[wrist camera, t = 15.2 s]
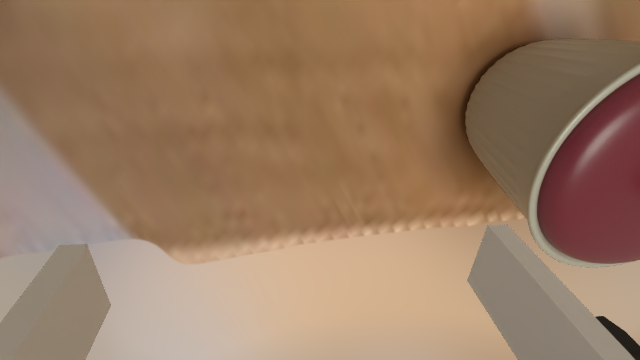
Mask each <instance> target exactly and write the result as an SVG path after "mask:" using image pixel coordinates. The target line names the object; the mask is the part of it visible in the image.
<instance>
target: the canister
mask: <svg viewBox="0 0 640 360" xmlns="http://www.w3.org/2000/svg"><path fill="white" fill-rule="evenodd" d="M465 115H466V120H465V125H466V134H467V136H468V140H469V143H470V145H471V146H472V148H473V150H474V152H475V154H476V155H477V157H478V158H479V159H480V161H481V162H482V163H483V165H484V166H485V167H486V169H487V170H488V171H489V173H490V174H491V175H492V177H493V178H494V179H495V180H496V182H497V183H498V184H499V185H500V187H501V188H502V189H503V190H504V192H505V193H506V194H507V195H508V196H509V198H510V199H511V200H512V202H513V203H514V204H515V205H516V207H517V208H518V209H519V210H520V212H521V213H522V214H523V215H524V216H525V218H526V219H527V220H528V225H529V228H530V231H531V234H532V236H533V238H534V240H535V242H536V243H537V244H538V246H539V247H540V248H541V249H542V250H543V251H544V252H545V253H546V254H547V255H549V256H550V257H552V258H553V259H555V260H557V261H559V262H562V263H565V264H568V265H572V266H578V267H588V268H598V267H609V266H615V265H621V264H625V263H629V262H632V261H636V260H640V41H623V40H597V39H558V40H543V41H539V42H533V43H529V44H527V45H526V46H522V47H519V48H517V49H515V50H514V51H513V52H510V53H507V54H506V55H505V56H504V57H503V58H501V59H499V60H497V61H496V63H495V64H494V65H493V66H491V67H490V68H488V70H487V72H486V73H485V74H484V75H483V76H481V79H480V81H479V82H478V83H477V84H476V85H475V89H474V91H473V92H472V93H471V95H470V100H469V102H468V103H467V111H466V113H465Z"/></svg>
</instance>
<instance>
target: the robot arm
mask: <svg viewBox="0 0 640 360" xmlns="http://www.w3.org/2000/svg"><path fill="white" fill-rule="evenodd" d="M468 282H469V284H470V286H471V287H472V289H473V290H474V292H475V293H476V295H477V297H478V298H479V300H480V301H481V303H482V304H483V306H484V308H485V309H486V310H487V312H488V314H489V315H490V317H491V318H492V320H493V321H494V323H495V325H496V326H497V328H498V329H499V331H500V332H501V334H502V336H503V337H504V339H505V340H506V342H507V343H508V345H509V347H510V348H511V350H512V351H513V352H514V354H515V356H516V357H517V359H518V360H640V346H639V345H638V344H637V343H636V342H635V341H634V340H633V339H632V338H631V337H630V336H629V335H628V334H627V333H626V332H625V331H624V330H622V329H621V328H619V327H618V326H616V325H615V324H614V323H612V322H611V321H609V320H608V319H606V318H605V317H604V316H598V317H594V315H593V314H592V313H591V312H590V311H589V310H588V309H587V308H586V307H585V306H584V305H583V304H582V303H581V302H580V300H579V299H578V298H577V297H576V296H575V295H574V294H573V293H572V292H571V291H570V290H569V289H568V288H567V287H566V286H565V285H564V284H563V282H562V281H561V280H560V279H559V278H558V277H557V276H556V275H555V274H554V273H553V272H552V271H551V270H550V269H549V268H548V267H547V266H546V264H545V263H544V262H543V261H542V260H541V259H540V258H539V257H538V256H537V255H536V254H535V253H534V252H533V251H532V250H531V249H530V248H529V247H528V246H527V245H526V243H525V242H524V241H523V240H522V239H521V238H520V237H519V236H518V235H517V234H516V233H515V232H514V231H513V230H512V228H510V226H509V225H508V224H506V225H488V226H487V229H486V231H485V234H484V237H483V239H482V242H481V245H480V247H479V250H478V253H477V256H476V258H475V261H474V264H473V266H472V269H471V272H470V275H469V277H468ZM110 306H111V304H110V302H109V299H108V297H107V294H106V292H105V289H104V287H103V284H102V282H101V279H100V277H99V274H98V272H97V269H96V266H95V264H94V262H93V259H92V256H91V254H90V251H89V249H88V246H87V244H84V245H63V246H59V247H58V248H57V249H56V251H55V252H54V253H53V255H52V256H51V257H50V259H49V260H48V261H47V262H46V264H45V265H44V266H43V268H42V269H41V270H40V272H39V273H38V274H37V276H36V277H35V278H34V280H33V281H32V282H31V283H30V285H29V286H28V287H27V289H26V290H25V291H24V293H23V294H22V295H21V296H20V298H19V299H18V300H17V302H16V303H15V304H14V306H13V307H12V308H11V309H10V311H9V312H8V313H7V315H6V316H5V317H4V319H3V320H2V321H1V323H0V360H85V359H86V357H87V355H88V353H89V351H90V349H91V346H92V344H93V342H94V340H95V338H96V336H97V334H98V331H99V329H100V327H101V325H102V323H103V321H104V319H105V317H106V315H107V313H108V310H109V308H110Z"/></svg>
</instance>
